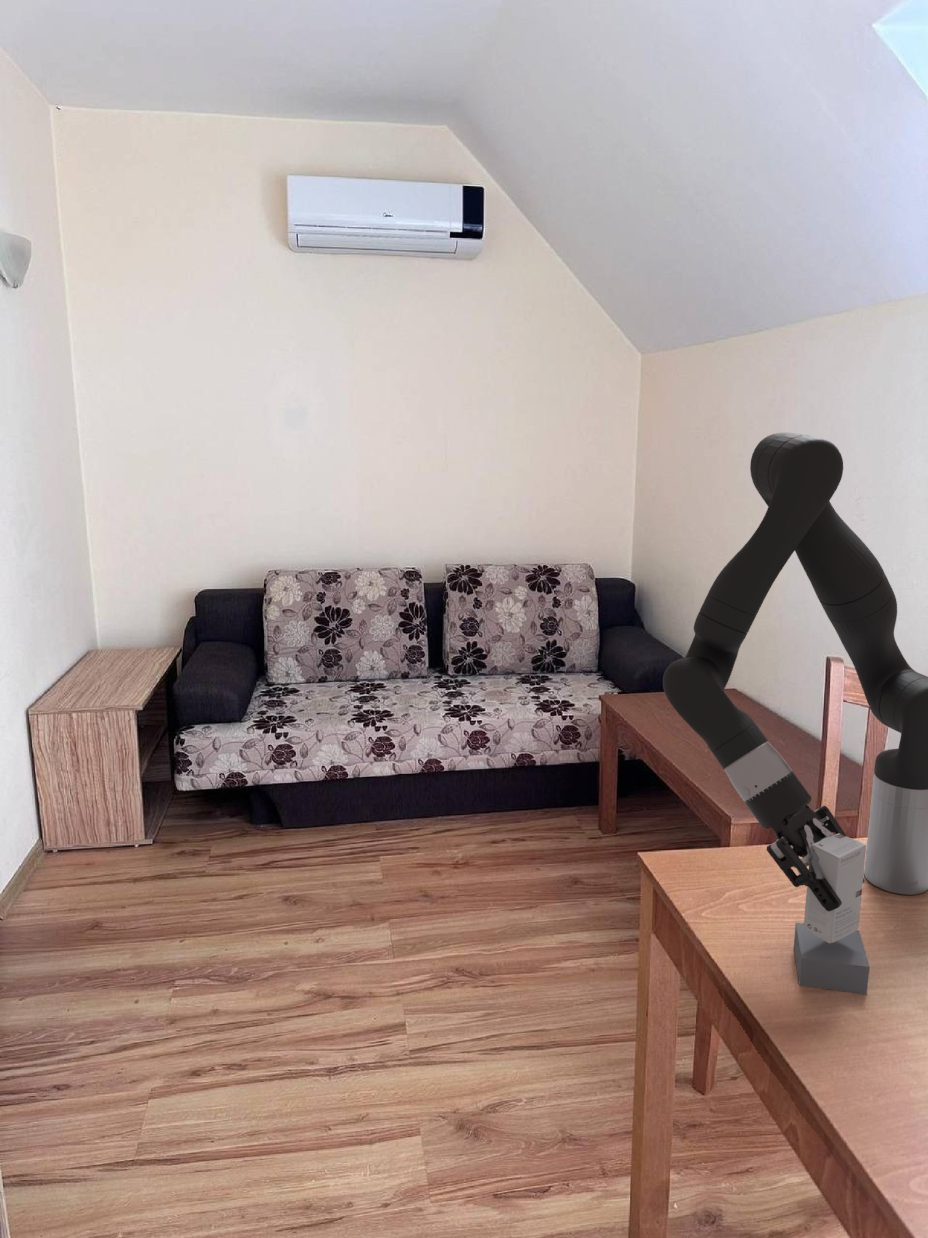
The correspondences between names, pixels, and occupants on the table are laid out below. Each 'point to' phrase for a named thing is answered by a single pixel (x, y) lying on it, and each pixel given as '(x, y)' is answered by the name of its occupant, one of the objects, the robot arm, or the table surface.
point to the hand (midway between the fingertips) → (847, 896)
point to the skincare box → (837, 888)
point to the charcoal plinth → (831, 962)
